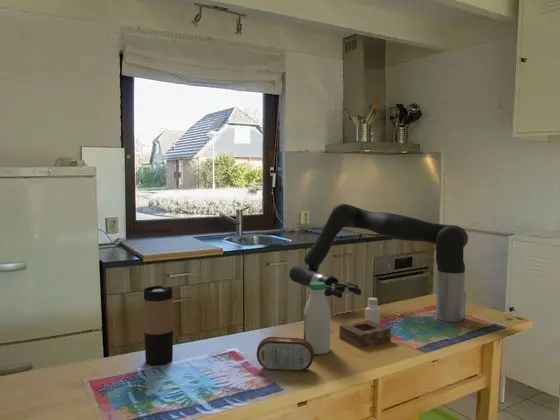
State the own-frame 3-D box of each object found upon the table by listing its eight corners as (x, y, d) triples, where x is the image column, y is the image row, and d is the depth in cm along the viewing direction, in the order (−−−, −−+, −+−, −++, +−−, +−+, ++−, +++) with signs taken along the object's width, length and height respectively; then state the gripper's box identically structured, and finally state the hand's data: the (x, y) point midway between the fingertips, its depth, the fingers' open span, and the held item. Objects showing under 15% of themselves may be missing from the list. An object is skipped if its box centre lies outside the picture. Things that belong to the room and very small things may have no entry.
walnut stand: (368, 332, 153) (369, 319, 152) (390, 341, 144) (390, 328, 144) (339, 338, 147) (339, 325, 146) (360, 348, 138) (360, 335, 138)
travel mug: (148, 368, 123) (146, 293, 122) (142, 358, 130) (140, 287, 128) (176, 363, 127) (175, 290, 125) (169, 353, 133) (168, 284, 132)
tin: (313, 368, 124) (314, 337, 123) (313, 373, 121) (313, 341, 120) (257, 366, 125) (257, 335, 125) (255, 371, 122) (255, 339, 121)
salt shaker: (364, 326, 159) (364, 298, 158) (370, 323, 162) (370, 296, 161) (374, 329, 156) (374, 300, 155) (380, 326, 159) (381, 298, 158)
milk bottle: (335, 350, 137) (336, 282, 135) (319, 357, 131) (319, 287, 130) (314, 343, 142) (315, 278, 140) (298, 350, 136) (298, 282, 135)
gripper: (309, 276, 178) (335, 285, 164) (339, 272, 185) (366, 281, 171) (309, 295, 179) (334, 306, 165) (339, 291, 186) (366, 301, 172)
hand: (351, 293), depth 168 cm, fingers open, 8 cm apart
